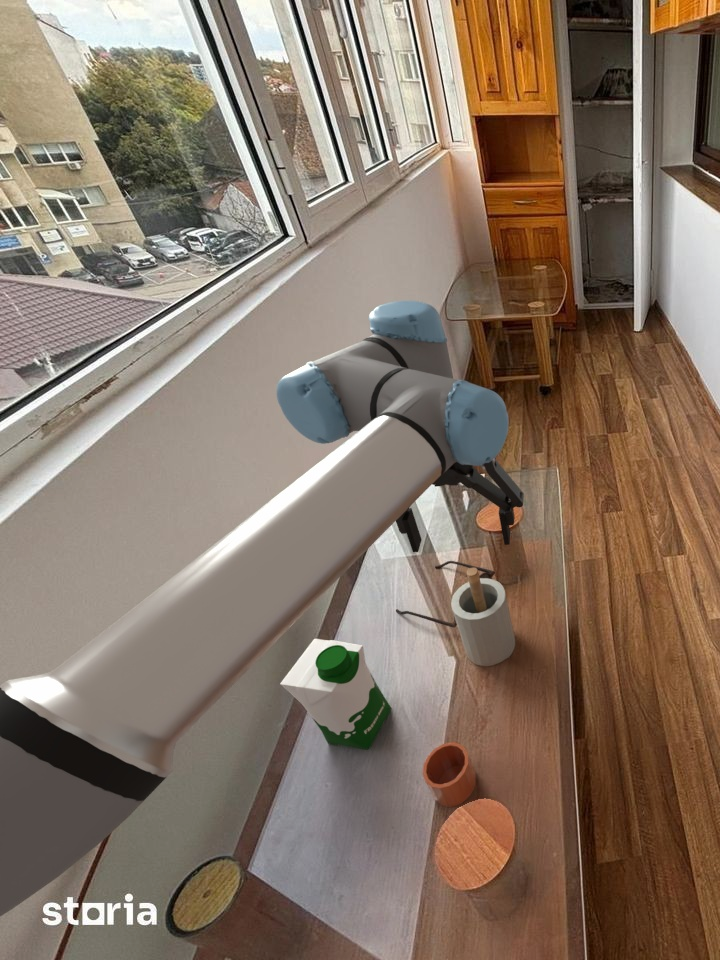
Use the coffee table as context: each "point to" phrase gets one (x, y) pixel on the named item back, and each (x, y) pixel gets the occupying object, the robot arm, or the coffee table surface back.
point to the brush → (476, 590)
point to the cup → (484, 623)
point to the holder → (449, 774)
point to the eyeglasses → (488, 575)
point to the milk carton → (339, 692)
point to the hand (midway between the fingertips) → (463, 542)
